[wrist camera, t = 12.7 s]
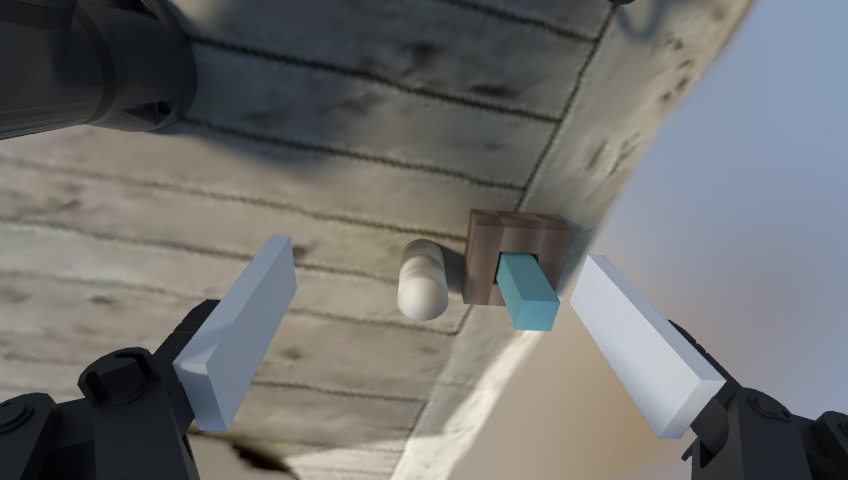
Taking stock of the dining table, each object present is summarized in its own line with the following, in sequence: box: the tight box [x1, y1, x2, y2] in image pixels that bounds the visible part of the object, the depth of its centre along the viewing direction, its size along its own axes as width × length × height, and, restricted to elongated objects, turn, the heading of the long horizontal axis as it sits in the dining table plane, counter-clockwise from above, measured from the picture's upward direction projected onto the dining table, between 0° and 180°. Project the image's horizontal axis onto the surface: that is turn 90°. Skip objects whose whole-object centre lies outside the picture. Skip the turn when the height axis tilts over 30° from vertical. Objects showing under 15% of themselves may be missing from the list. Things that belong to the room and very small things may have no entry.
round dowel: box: [398, 239, 448, 321], centre depth 43 cm, size 6×6×10 cm
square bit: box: [495, 251, 560, 331], centre depth 41 cm, size 4×4×14 cm
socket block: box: [460, 209, 574, 306], centre depth 45 cm, size 12×12×5 cm
